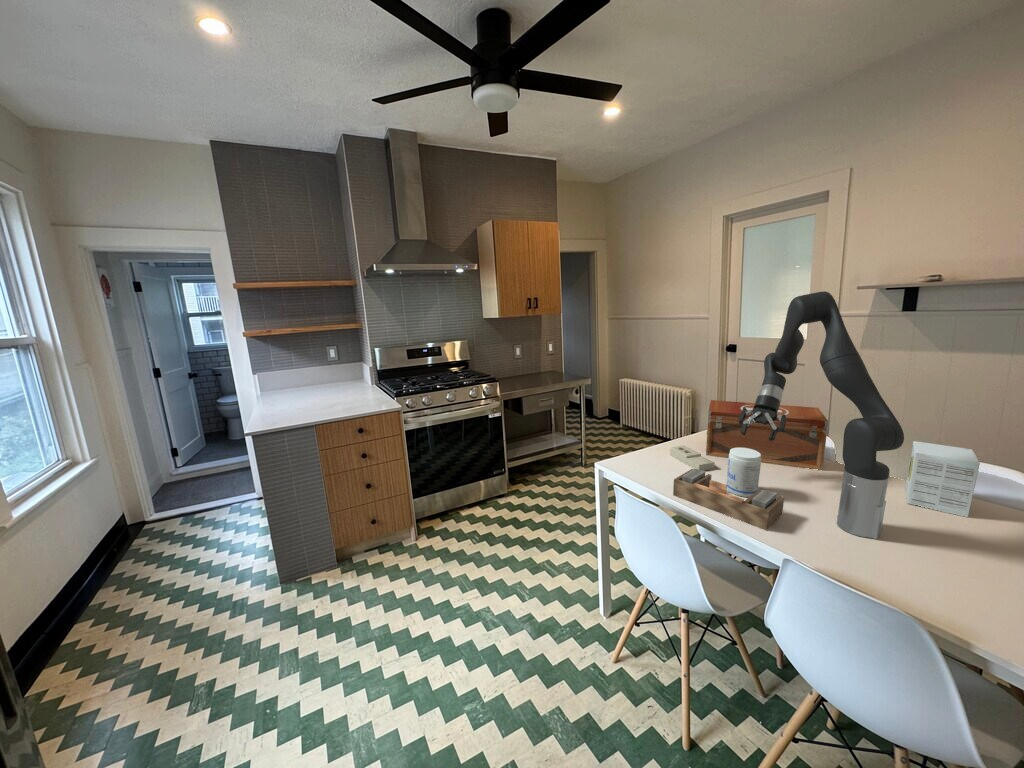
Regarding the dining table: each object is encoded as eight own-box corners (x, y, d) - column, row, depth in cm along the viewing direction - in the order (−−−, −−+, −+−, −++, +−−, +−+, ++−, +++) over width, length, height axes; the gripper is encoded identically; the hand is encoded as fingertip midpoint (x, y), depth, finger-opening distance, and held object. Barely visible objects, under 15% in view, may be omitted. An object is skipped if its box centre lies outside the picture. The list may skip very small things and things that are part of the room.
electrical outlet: (699, 462, 152) (669, 447, 169) (698, 472, 152) (669, 455, 170) (714, 460, 153) (683, 444, 170) (713, 469, 154) (683, 453, 171)
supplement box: (904, 488, 132) (912, 440, 129) (962, 500, 123) (973, 448, 120) (905, 504, 123) (915, 452, 119) (969, 518, 114) (981, 462, 110)
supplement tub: (720, 486, 140) (722, 448, 137) (744, 484, 141) (748, 445, 138) (738, 499, 130) (741, 458, 127) (764, 496, 131) (768, 456, 128)
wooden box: (823, 471, 148) (829, 421, 143) (704, 455, 167) (707, 411, 163) (814, 452, 165) (819, 407, 161) (707, 440, 185) (709, 399, 181)
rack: (782, 514, 120) (785, 485, 118) (766, 530, 113) (769, 499, 111) (691, 483, 143) (692, 459, 141) (673, 495, 135) (674, 469, 133)
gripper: (745, 391, 147) (733, 428, 142) (790, 397, 137) (778, 437, 132) (748, 401, 152) (736, 437, 147) (792, 407, 142) (780, 446, 137)
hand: (756, 437), depth 139 cm, fingers open, 8 cm apart
